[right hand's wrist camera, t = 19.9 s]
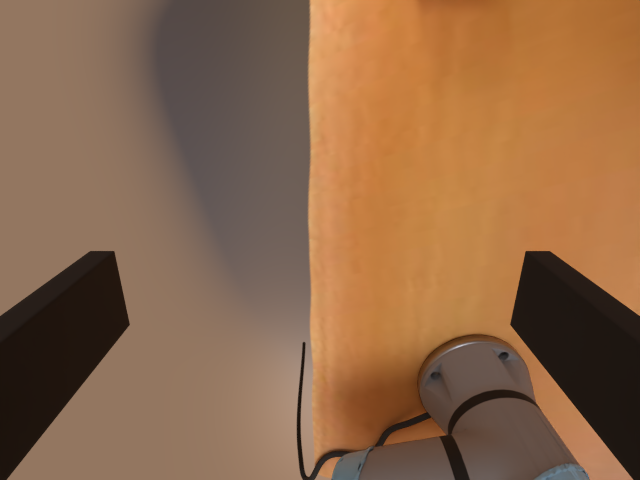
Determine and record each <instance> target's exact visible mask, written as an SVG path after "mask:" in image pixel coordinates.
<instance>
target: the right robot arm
mask: <svg viewBox="0 0 640 480" xmlns="http://www.w3.org/2000/svg"><path fill="white" fill-rule="evenodd" d="M129 325H130V324H129V319H128V314H127V310H126V305H125V300H124V295H123V291H122V286H121V281H120V276H119V272H118V267H117V262H116V257H115V253H114V251H90V252H88V253H87V254H86V255H84V256H83V257H82V258H80V259H79V260H77V261H76V262H75V263H73V264H72V265H70V266H69V267H68V268H66V269H65V270H64V271H62V272H61V273H59V274H58V275H57V276H55V277H54V278H52V279H51V280H50V281H48V282H47V283H46V284H44V285H43V286H41V287H40V288H39V289H37V290H36V291H34V292H33V293H32V294H30V295H29V296H28V297H26V298H25V299H23V300H22V301H21V302H19V303H18V304H16V305H15V306H14V307H12V308H11V309H10V310H8V311H7V312H5V313H4V314H3V315H1V316H0V480H7V478H8V477H9V476H10V475H11V473H12V472H13V471H14V470H15V468H16V467H17V466H18V465H19V463H20V462H21V461H22V460H23V458H24V457H25V456H26V455H27V453H28V452H29V451H30V449H31V448H32V447H33V446H34V444H35V443H36V442H37V441H38V439H39V438H40V437H41V436H42V434H43V433H44V432H45V431H46V429H47V428H48V427H49V426H50V424H51V423H52V422H53V421H54V419H55V418H56V417H57V416H58V414H59V413H60V412H61V411H62V409H63V408H64V407H65V405H66V404H67V403H68V402H69V400H70V399H71V398H72V397H73V395H74V394H75V393H76V392H77V390H78V389H79V388H80V387H81V385H82V384H83V383H84V382H85V380H86V379H87V378H88V376H89V375H90V374H91V373H92V371H93V370H94V369H95V368H96V366H97V365H98V364H99V363H100V361H101V360H102V359H103V358H104V356H105V355H106V354H107V353H108V351H109V350H110V349H111V348H112V346H113V345H114V344H115V343H116V341H117V340H118V339H119V338H120V336H121V335H122V334H123V332H124V331H125V330H126V329H127V327H128V326H129ZM510 325H511V326H512V327H513V329H514V330H515V331H516V332H517V334H518V335H519V336H520V338H521V339H522V340H523V341H524V343H525V344H526V345H527V346H528V348H529V349H530V350H531V351H532V353H533V354H534V355H535V356H536V358H537V359H538V360H539V361H540V363H541V364H542V365H543V366H544V368H545V369H546V370H547V371H548V373H549V374H550V375H551V377H552V378H553V379H554V380H555V382H556V383H557V384H558V385H559V387H560V388H561V389H562V390H563V392H564V393H565V394H566V395H567V397H568V398H569V399H570V400H571V402H572V403H573V404H574V405H575V407H576V408H577V409H578V411H579V412H580V413H581V414H582V416H583V417H584V418H585V419H586V421H587V422H588V423H589V424H590V426H591V427H592V428H593V429H594V431H595V432H596V433H597V434H598V436H599V437H600V438H601V439H602V441H603V442H604V443H605V444H606V446H607V447H608V448H609V450H610V451H611V452H612V453H613V455H614V456H615V457H616V458H617V460H618V461H619V462H620V463H621V465H622V466H623V467H624V468H625V470H626V471H627V472H628V473H629V475H630V476H631V477H632V478H633V480H640V316H639V315H637V314H636V313H635V312H633V311H632V310H631V309H629V308H628V307H626V306H625V305H624V304H622V303H621V302H619V301H618V300H617V299H615V298H614V297H613V296H611V295H610V294H608V293H607V292H606V291H604V290H603V289H601V288H600V287H599V286H597V285H596V284H595V283H593V282H592V281H590V280H589V279H588V278H586V277H585V276H583V275H582V274H581V273H579V272H578V271H577V270H575V269H574V268H572V267H571V266H570V265H568V264H567V263H565V262H564V261H563V260H561V259H560V258H559V257H557V256H556V255H554V254H553V253H552V252H550V251H526V252H525V257H524V262H523V267H522V272H521V276H520V281H519V286H518V291H517V295H516V300H515V305H514V310H513V314H512V319H511V324H510ZM305 345H306V343H305V342H303V343H302V359H301V370H300V381H299V392H298V404H297V449H298V460H299V469H300V474H301V477H302V479H303V480H314V479H315V478H316V476H317V474H318V472H319V470H320V468H321V467H322V465H323V464H324V463H325V462H326V461H327V460H328V459H330V458H333V457H341V458H340V459H339V461H338V462H337V464H336V466H335V468H334V471H333V475H332V479H331V480H589V477H588V474H587V473H586V472H585V470H584V469H583V468H582V467H581V466H580V465H579V464H578V462H577V461H576V459H575V458H574V457H573V455H572V454H571V452H570V451H569V449H568V448H567V447H566V445H565V444H564V442H563V441H562V439H561V438H560V437H559V435H558V434H557V432H556V431H555V429H554V428H553V427H552V425H551V424H550V422H549V421H548V419H547V418H546V417H545V415H544V414H543V412H542V411H541V409H540V408H539V407H538V405H537V404H536V400H535V396H534V392H533V387H532V383H531V379H530V375H529V371H528V368H527V366H526V364H525V362H524V361H523V359H522V358H521V357H520V355H519V354H518V353H517V351H516V350H515V349H514V348H513V347H512V346H511V345H509V344H508V343H506V342H505V341H503V340H500V339H498V338H495V337H491V336H485V335H471V336H464V337H460V338H457V339H454V340H451V341H449V342H447V343H445V344H443V345H442V346H440V347H439V348H437V349H436V350H435V351H434V352H433V353H431V354H430V356H429V357H428V358H427V359H426V360H425V362H424V363H423V365H422V367H421V369H420V372H419V376H418V391H419V394H420V397H421V401H422V403H423V406H424V408H425V409H426V411H427V413H424V414H422V415H420V416H417V417H415V418H412V419H410V420H407V421H404V422H401V423H397V424H395V425H393V426H391V427H389V428H388V429H387V430H386V431H385V432H384V433H383V434H382V436H381V437H380V439H379V441H378V443H377V445H376V446H370V447H369V448H367V449H366V450H361V451H357V452H347V451H334V452H330V453H328V454H326V455H324V456H323V457H322V458H321V459H320V460H319V461H318V463H317V464H316V466H315V468H314V470H313V472H312V474H311V476H310V477H307V476H306V474H305V470H304V462H303V454H302V444H301V401H302V387H303V375H304V363H305ZM431 417H432V418H433V419H434V421H435V422H436V423H437V424H438V425H439V427H440V428H441V429H442V430H443V431H444V432H445V434H446V436H439V437H433V438H427V439H421V440H415V441H409V442H403V443H397V444H391V445H385V446H383V444H384V442H385V440H386V439H387V437H388V436H389V435H390V434H391V433H392V432H394V431H396V430H399V429H402V428H405V427H409V426H411V425H414V424H416V423H419V422H421V421H424V420H426V419H428V418H431Z"/></svg>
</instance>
